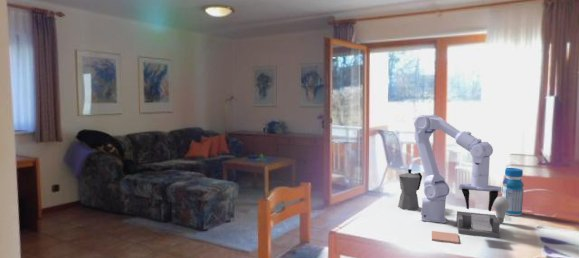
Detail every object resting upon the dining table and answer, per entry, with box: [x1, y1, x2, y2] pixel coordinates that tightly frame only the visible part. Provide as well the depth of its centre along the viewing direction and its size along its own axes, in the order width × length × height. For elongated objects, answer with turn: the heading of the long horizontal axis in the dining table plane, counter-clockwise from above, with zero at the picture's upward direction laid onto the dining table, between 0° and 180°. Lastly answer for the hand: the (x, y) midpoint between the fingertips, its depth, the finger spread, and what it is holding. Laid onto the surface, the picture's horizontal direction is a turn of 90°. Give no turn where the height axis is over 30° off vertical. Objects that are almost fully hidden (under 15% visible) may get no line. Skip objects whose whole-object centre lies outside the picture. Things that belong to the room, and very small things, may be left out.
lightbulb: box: [492, 195, 510, 224], centre depth 166 cm, size 6×6×11 cm
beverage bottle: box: [501, 167, 525, 217], centre depth 180 cm, size 8×8×20 cm
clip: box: [471, 214, 492, 232], centre depth 146 cm, size 6×8×3 cm
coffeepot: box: [397, 168, 423, 211], centre depth 188 cm, size 15×9×18 cm, turn 125°
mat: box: [431, 230, 460, 245], centre depth 148 cm, size 9×9×1 cm
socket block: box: [455, 210, 501, 239], centre depth 157 cm, size 14×13×5 cm
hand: (478, 209), depth 155 cm, fingers open, 7 cm apart
